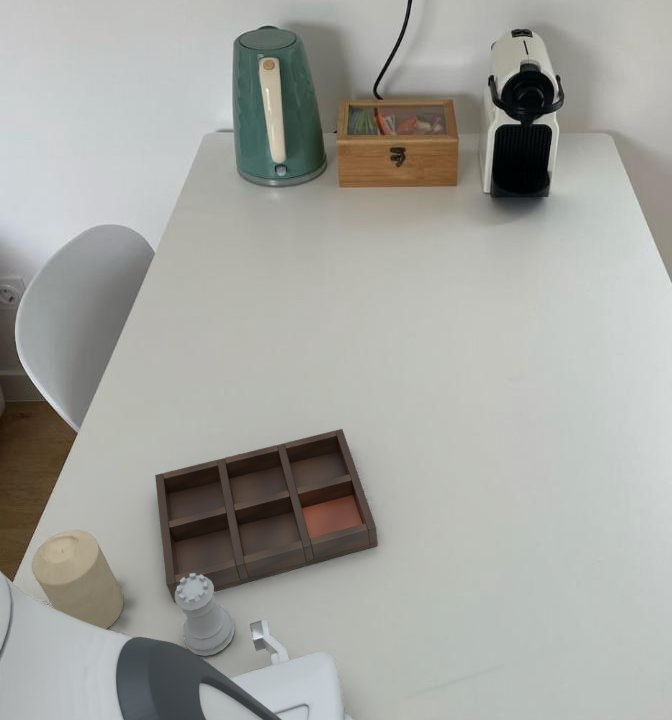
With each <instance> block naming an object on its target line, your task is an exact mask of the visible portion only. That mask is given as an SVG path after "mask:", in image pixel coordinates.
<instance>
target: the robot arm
mask: <svg viewBox="0 0 672 720" xmlns="http://www.w3.org/2000/svg"><path fill="white" fill-rule="evenodd" d="M249 627H250V631H251V638H252V643H253V645H254V649H255V651H256V652H258V651H262V650H266V651H267V652H268V654H270V661H271V664H270V665H268V666H264V667H262V668H258V669H255V670H251V671H248V672H245V673H241V674H238V675H235V676H232V677H228V676H226V675H225V674H224V673H223V672H221V671H220V670H218V669H217V668H216V667H214V666H213V665H211V664H210V663H209V662H207V661H206V660H205V659H203V658H202V657H200V655H198V654H195V653H193V652H192V651H191V650H190V649H188V648H186V647H183V646H181V645H180V644H177V643H176V642H175V643H174V642H172V641H166V640H161V639H156V638H149V637H144V636H136V637H135V636H133V635H130V634H129V635H128V634H126V633H121V632H118V631H114V630H110V629H108V628H107V629H104V628H100V627H97V626H94V625H92V624H89V623H86V622H84V621H81V620H79V619H76V618H74V617H71V616H69V615H67V614H65V613H63V612H60V611H58V610H56V609H54V607H53V606H50V605H48V604H46V603H44V602H42V601H41V600H39V599H38V598H35V597H34V596H32V595H31V594H29V593H27V592H26V591H24V590H23V589H21V587H19V586H18V585H16V584H15V583H14V582H12V581H11V579H10V578H8V577H7V576H6V575H5V574H4V573H3V572H2V571H1V570H0V720H355V719H354V718H353V717H352V716H351V715H350V714H349V713H347V712H345V704H344V703H345V702H344V697H343V696H344V695H343V689H342V683H341V679H340V673H339V667H338V664H337V660H336V658H335V657H334V656H333V655H331V654H329V653H328V652H327V651H324V650H318V651H315V652H312V653H311V652H310V653H308V654H305V655H301V656H298V657H295V658H291V659H290V656H289V651H288V649H287V648H286V646H284V645H283V644H282V643H281V642H280V641H279V640H277V639H276V637H274V636H273V635H272V634H271V633H272V632H271V629H270V624H269V620H268V619H267V618H265V619H261V620H258V621H255V622H252V623H249Z"/></svg>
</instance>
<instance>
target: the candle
mask: <svg viewBox="0 0 672 720" xmlns="http://www.w3.org/2000/svg"><path fill="white" fill-rule="evenodd" d="M104 554H105V553H103V550H102V549H101V546H100V544H99V542H98V540H97V539H96V537H95V536H94V535H93V534H92V533H90V532H88V531H85V530H81V529H69V530H65V531H62V532H58V533H57V534H54V535H52V536H51V537H49V538H48V539H46V540H45V541H44V542H43V543H42V544H41V545H39V547H38V549H37V550H36V551H35V553H34V555H33V557H32V561H31V571H32V574H33V576H34V577H35V579H36V581H37V583H38V584H39V586H40V588H41V589H42V591H43V592H44V594H45V595H46V597H47V599H48V601H49V602H50V604H51V605H52V608H54V609H56V610H58V611H60V612H63V613H65V614H67V615H69V616H71V617H74V618H76V619H79V620H81V621H84V622H86V623H89V624H92V625H94V626H97V627H100V628H104V629H107V630H108V629H109V628H110V627H111V626H112V625H114V623H116V621H117V620H118V619H119V617H120V616H121V614H122V612H123V609H124V606H125V605H124V604H125V599H124V594H123V591H122V589H121V587H120V585H119V583H118V580H117V579H116V577H115V574H114V573H113V570H112V569H111V566H110V564H109V563H108V560H107V559H106V557H105V555H104Z"/></svg>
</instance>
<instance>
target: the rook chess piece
mask: <svg viewBox="0 0 672 720" xmlns="http://www.w3.org/2000/svg"><path fill="white" fill-rule="evenodd" d="M180 583H181V584H180V585H179V586H177V589H176V591H175V601H176V602H175V603H176V605H177V606H178V607H180V608H181V610H182V612H183V613H184V614H185V615H186V619H185V621H184V623H183V631H182V632H183V638H184V642H185V645H186V647H187V650H189V651H191V652H192V653H194V654H196V655H197V656H204V657H205V656H211V655H215V654H218V653H219V652H221V651H223V650H224V649H225V648H226V647H227V646H228V645H229V644H230V643H231V642H232V639H233V637H234V636H235V635H234V634H235V622H234V620H233V618H232V616H231V614H230V612H229V611H228V610H227V609H226V608H224V607H222V606H221V605H219V604H217V603H215V601H216V600H215V599H216V597H215V595H214V592H215V591H214V586H213V584H212V582H211V580H209V579H208V578H207V577H204V576H203V575H201V574H200V576H199V575H198V576H196V573H192V574H190V577H189V578H187V579H185V577H183V578H182V579H181V580H180Z"/></svg>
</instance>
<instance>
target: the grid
mask: <svg viewBox="0 0 672 720" xmlns="http://www.w3.org/2000/svg"><path fill="white" fill-rule="evenodd" d="M154 478H155V487H156V497H157V506H158V515H159V527H160V536H161V546H162V554H163V565H164V574H165V583H166V587H167V589H168V592H169V594H170V596H171V599H172V601H173V603H176V601H175V591H176V589H177V586H179V585H180V584H181V583H180V580H181V579H182V578H183V577H185V579H187V578H189V577H190V574H192V573H196V576H198V575H199V576H200V574H201V575H203V576H204V577H207V578H208V579H209V580H211V582H212V584H213V586H214V592H217V591H222V590H224V589H228V588H232V587H236V586H240V585H242V584H243V585H244V584H246V583H249V582H253V581H257V580H261V579H264V578H268V577H272V576H275V575H278V574H282V573H286V572H289V571H293V570H296V569H300V568H303V567H307V566H310V565H314V564H318V563H321V562H325V561H328V560H333V559H337V558H339V557H343V556H347V555H349V554H353V553H357V552H360V551H364V550H368V549H371V548H375V547H378V546H379V543H378V534H377V533H378V532H377V526H376V522H375V520H374V517H373V514H372V510H371V508H370V505H369V503H368V499H367V497H366V493H365V490H364V488H363V485H362V482H361V479H360V476H359V473H358V470H357V467H356V465H355V462H354V458H353V456H352V453H351V449H350V447H349V444H348V441H347V438H346V434H345V433H344V429H343V428H339V429H335V430H332V431H327V432H324V433H320V434H319V433H318V434H315V435H311V436H307V437H303V438H299V439H295V440H290V441H286V442H284V443H280V444H279V443H278V444H275V445H271V446H267V447H262V448H258V449H254V450H250V451H247V452H243V453H239V454H234V455H230V456H226V457H222V458H219V459H214V460H209V461H206V462H203V463H198V464H194V465H190V466H186V467H183V468H178V469H173V470H170V471H166V472H162V473H157V474H155V475H154Z"/></svg>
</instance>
